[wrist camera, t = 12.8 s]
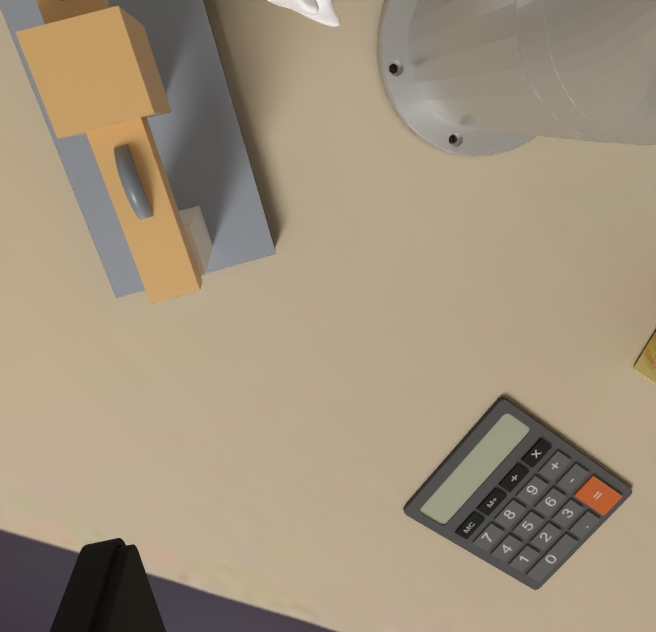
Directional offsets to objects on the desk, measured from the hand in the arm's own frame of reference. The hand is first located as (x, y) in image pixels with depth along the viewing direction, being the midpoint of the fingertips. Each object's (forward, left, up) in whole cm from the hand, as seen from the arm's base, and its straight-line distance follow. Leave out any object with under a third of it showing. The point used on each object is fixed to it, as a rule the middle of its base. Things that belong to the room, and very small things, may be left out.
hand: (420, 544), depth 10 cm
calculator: (-11, +26, -30) cm, 41 cm away
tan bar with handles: (+7, -10, -24) cm, 27 cm away
